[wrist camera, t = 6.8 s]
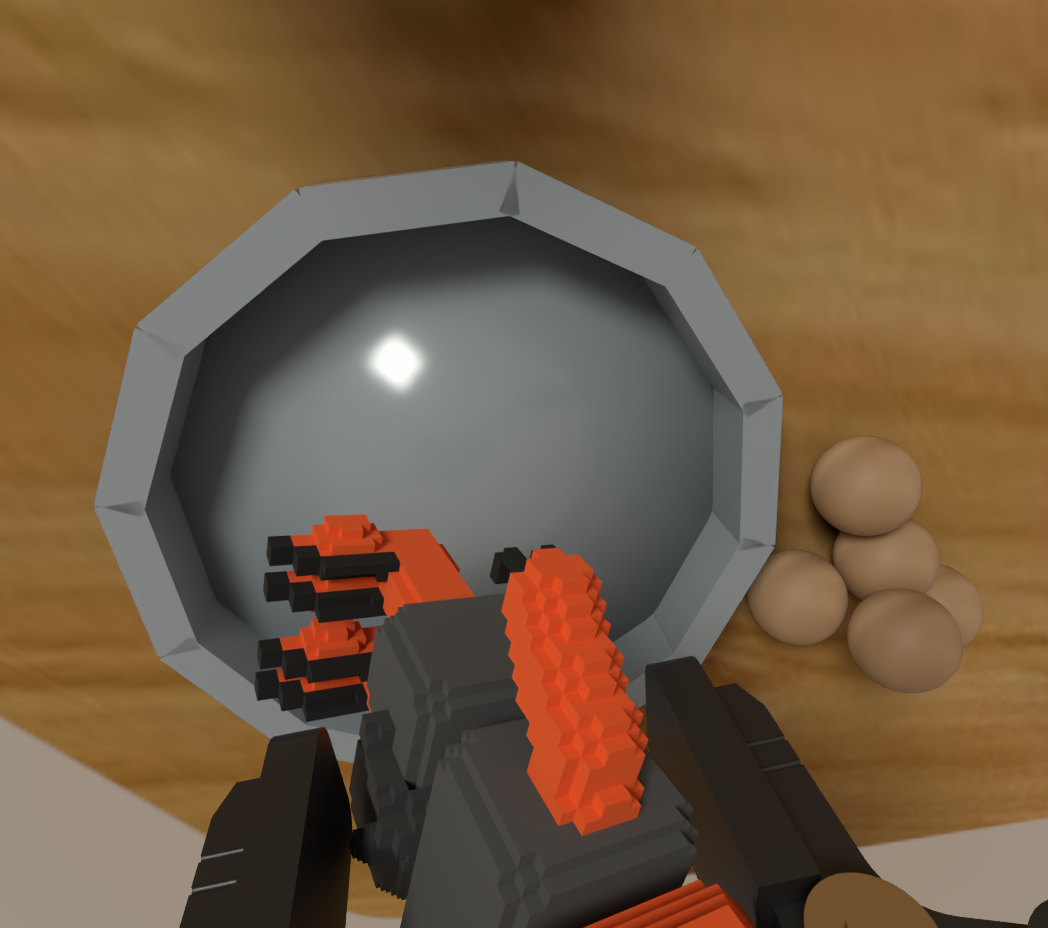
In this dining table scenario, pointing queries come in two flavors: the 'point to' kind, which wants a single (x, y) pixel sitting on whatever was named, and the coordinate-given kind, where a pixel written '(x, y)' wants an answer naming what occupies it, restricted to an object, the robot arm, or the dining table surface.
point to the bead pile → (872, 574)
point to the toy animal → (485, 735)
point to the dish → (441, 416)
